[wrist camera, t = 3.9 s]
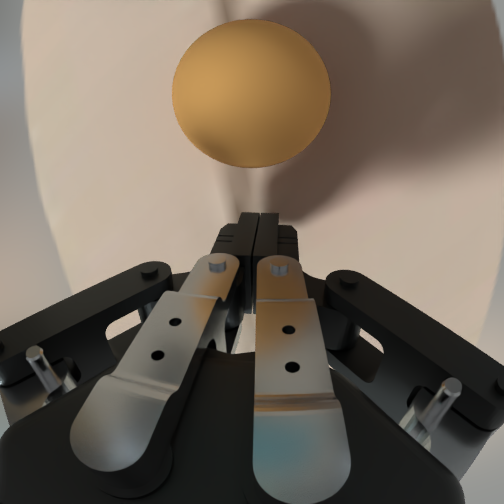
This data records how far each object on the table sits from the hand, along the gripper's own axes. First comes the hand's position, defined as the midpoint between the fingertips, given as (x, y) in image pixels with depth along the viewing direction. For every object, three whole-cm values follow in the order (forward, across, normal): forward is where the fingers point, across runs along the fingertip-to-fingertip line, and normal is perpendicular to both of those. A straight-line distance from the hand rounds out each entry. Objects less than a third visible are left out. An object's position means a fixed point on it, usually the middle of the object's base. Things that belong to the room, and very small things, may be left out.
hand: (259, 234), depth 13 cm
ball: (-1, 0, -6) cm, 6 cm away
